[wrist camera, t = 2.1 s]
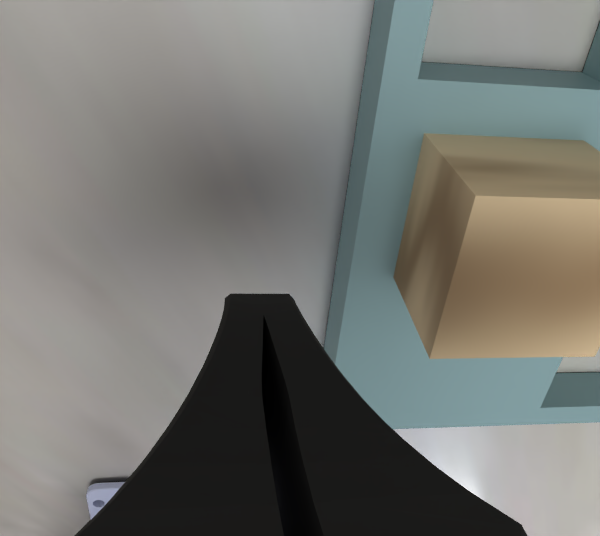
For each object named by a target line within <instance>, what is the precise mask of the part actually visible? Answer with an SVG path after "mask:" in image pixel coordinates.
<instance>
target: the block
mask: <svg viewBox="0 0 600 536" xmlns="http://www.w3.org/2000/svg"><path fill="white" fill-rule="evenodd" d="M393 278H394V280H395V282H396V284H397V287H398V289H399V291H400V293H401V296H402V298H403V300H404V302H405V305H406V307H407V309H408V311H409V314H410V316H411V318H412V320H413V323H414V325H415V327H416V329H417V332H418V334H419V336H420V338H421V341H422V343H423V345H424V347H425V350H426V352H427V354H428V356H429V359H459V358H526V357H594V356H595V355H596V353H597V351H598V349H599V347H600V151H598V150H597V149H595V148H594V147H593V146H591V145H590V144H588V143H587V142H585V141H584V140H562V139H540V138H518V137H496V136H474V135H452V134H430V133H424V136H423V141H422V145H421V150H420V155H419V159H418V164H417V169H416V173H415V178H414V183H413V187H412V192H411V197H410V202H409V206H408V211H407V216H406V220H405V225H404V230H403V234H402V239H401V244H400V248H399V253H398V258H397V262H396V267H395V272H394V276H393Z"/></svg>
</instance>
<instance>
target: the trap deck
mask: <svg viewBox="0 0 600 536" xmlns="http://www.w3.org/2000/svg"><path fill="white" fill-rule="evenodd" d="M432 5H433V0H375V3H374V9H373V16H372V23H371V30H370V37H369V44H368V50H367V57H366V64H365V71H364V78H363V84H362V91H361V98H360V105H359V112H358V119H357V125H356V132H355V139H354V146H353V153H352V160H351V166H350V173H349V180H348V187H347V194H346V200H345V207H344V214H343V221H342V228H341V235H340V241H339V248H338V255H337V262H336V269H335V275H334V282H333V289H332V296H331V303H330V310H329V316H328V323H327V330H326V337H325V344H324V350H325V351H326V353H327V354H328V355H329V357H330V358H331V360H332V361H333V362H334V364H335V365H336V366H337V368H338V369H339V370H340V372H341V373H342V374H343V376H344V377H345V378H346V379H347V380H348V382H349V383H350V384H351V385H352V386H353V388H354V389H355V390H356V391H357V392H358V394H359V395H360V396H361V397H362V398H363V399H364V400H365V402H366V403H367V404H368V405H369V406H370V407H371V408H372V409H373V410H374V411H375V412H376V413H377V414H378V415H379V416H380V417H381V418H382V419H383V420H384V421H385V422H386V423H387V424H388V425H389V426H390V427H391V428H392V429H408V428H439V427H469V426H499V425H529V424H559V423H589V422H600V372H591V373H556V372H557V369H558V367H559V365H560V363H561V361H562V358H563V357H526V358H459V359H429V356H428V354H427V352H426V350H425V347H424V345H423V343H422V341H421V338H420V336H419V334H418V332H417V329H416V327H415V325H414V323H413V320H412V318H411V316H410V314H409V311H408V309H407V307H406V305H405V302H404V300H403V298H402V296H401V293H400V291H399V289H398V287H397V284H396V282H395V280H394V278H393V276H394V272H395V267H396V262H397V258H398V253H399V248H400V244H401V239H402V234H403V230H404V225H405V220H406V216H407V211H408V206H409V202H410V197H411V192H412V187H413V183H414V178H415V173H416V169H417V164H418V159H419V155H420V150H421V145H422V141H423V136H424V133H430V134H452V135H474V136H496V137H518V138H540V139H562V140H584V141H585V142H587V143H588V144H590V145H591V146H593V147H594V148H595V149H597V150H598V151H600V23H599V26H598V29H597V32H596V34H595V37H594V40H593V43H592V46H591V49H590V52H589V54H588V57H587V60H586V63H585V66H584V69H583V72H570V71H554V70H539V69H523V68H508V67H492V66H476V65H461V64H445V63H430V62H421V61H422V56H423V51H424V46H425V41H426V36H427V31H428V25H429V20H430V15H431V10H432Z"/></svg>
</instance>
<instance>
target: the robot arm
mask: <svg viewBox="0 0 600 536" xmlns="http://www.w3.org/2000/svg"><path fill="white" fill-rule="evenodd" d="M86 498H87V503H88V509H89V514H90V519H91V520H90V521H89V522H88V523H87V524H86V525H85V526H84V527H83V528H82V529H81V530H80V531H79V532H78V533H77V534H76V535H75V536H527V534H526V532H525V531H524V529H523V527H522V525H521V524H519V523H518V522H516V521H515V520H513V519H512V518H510V517H508V516H507V515H505V514H504V513H502V512H501V511H499V510H498V509H496V508H494V507H493V506H491V505H490V504H488V503H487V502H485V501H483V500H482V499H480V498H479V497H477V496H476V495H474V494H473V493H471V492H470V491H468V490H467V489H465V488H464V487H463V486H461V485H460V484H459V483H457V482H456V481H454V480H453V479H452V478H450V477H449V476H448V475H446V474H445V473H444V472H442V471H441V470H439V469H438V468H437V467H436V466H434V465H433V464H432V463H431V462H430V461H428V460H427V459H426V458H425V457H424V456H422V455H421V454H420V453H419V452H418V451H417V450H415V449H414V448H413V447H412V446H411V445H409V444H408V443H407V442H406V441H405V440H403V439H402V438H401V437H400V436H399V435H398V434H397V433H396V432H395V431H394V430H393V429H392V428H391V427H390V426H389V425H388V424H387V423H386V422H385V421H384V420H383V419H382V418H381V417H380V416H379V415H378V414H377V413H376V412H375V411H374V410H373V409H372V408H371V407H370V406H369V405H368V404H367V403H366V402H365V400H364V399H363V398H362V397H361V396H360V395H359V394H358V392H357V391H356V390H355V389H354V388H353V386H352V385H351V384H350V383H349V382H348V380H347V379H346V378H345V377H344V376H343V374H342V373H341V372H340V370H339V369H338V368H337V366H336V365H335V364H334V362H333V361H332V360H331V358H330V357H329V355H328V354H327V353H326V351H325V350H324V348H323V347H322V346H321V344H320V343H319V341H318V340H317V338H316V337H315V335H314V334H313V332H312V331H311V329H310V327H309V326H308V324H307V323H306V321H305V319H304V318H303V316H302V314H301V312H300V311H299V309H298V307H297V305H296V303H295V301H294V299H293V298H292V297H291V296H290V295H289V294H230V295H229V296H227V297H226V298H225V306H224V311H223V315H222V319H221V323H220V326H219V329H218V332H217V335H216V337H215V340H214V342H213V344H212V347H211V349H210V352H209V354H208V356H207V359H206V361H205V363H204V365H203V367H202V369H201V371H200V373H199V375H198V377H197V379H196V381H195V382H194V384H193V386H192V388H191V390H190V392H189V394H188V395H187V397H186V399H185V401H184V402H183V404H182V406H181V407H180V409H179V410H178V412H177V414H176V415H175V417H174V418H173V420H172V421H171V423H170V424H169V426H168V427H167V429H166V430H165V432H164V433H163V434H162V436H161V437H160V439H159V440H158V441H157V443H156V444H155V446H154V447H153V448H152V450H151V451H150V452H149V454H148V455H147V456H146V458H145V459H144V460H143V461H142V463H141V464H140V465H139V466H138V468H137V469H136V470H135V471H134V472H133V474H132V475H131V476H130V477H129V478H128V479H127V480H126V482H108V483H95V484H92V485H90V486H89V487H88V490H87V495H86Z"/></svg>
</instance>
